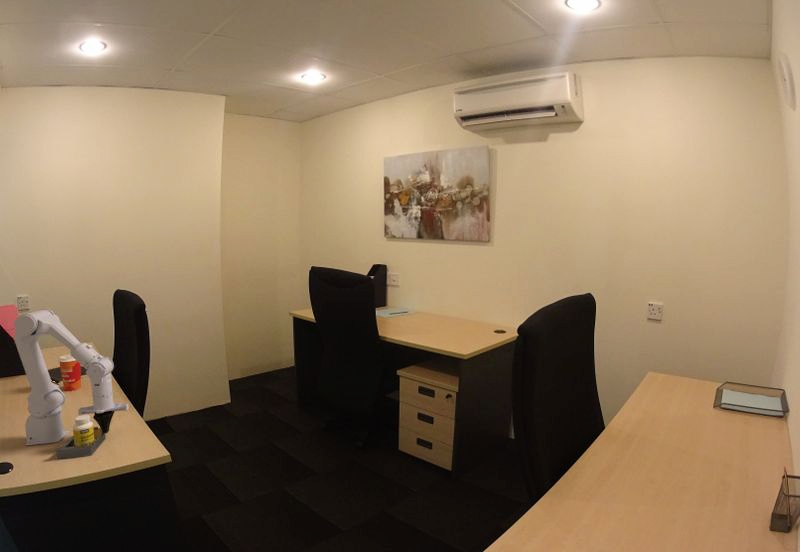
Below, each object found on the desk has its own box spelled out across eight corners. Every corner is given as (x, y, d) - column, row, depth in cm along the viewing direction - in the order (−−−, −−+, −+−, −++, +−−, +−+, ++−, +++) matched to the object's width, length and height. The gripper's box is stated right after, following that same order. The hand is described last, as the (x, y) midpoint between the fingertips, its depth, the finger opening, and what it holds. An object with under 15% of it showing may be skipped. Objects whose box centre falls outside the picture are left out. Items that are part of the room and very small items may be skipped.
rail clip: (56, 459, 138) (56, 450, 138) (77, 437, 152) (76, 429, 152) (91, 455, 141) (90, 446, 140) (109, 434, 154) (108, 426, 154)
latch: (87, 438, 152) (86, 429, 151) (88, 437, 153) (88, 427, 152) (102, 437, 153) (101, 427, 152) (103, 435, 154) (102, 426, 153)
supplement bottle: (81, 451, 143) (78, 422, 142) (70, 447, 146) (68, 419, 144) (98, 443, 148) (95, 415, 147) (88, 440, 150) (85, 412, 149)
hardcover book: (73, 367, 228) (73, 363, 228) (97, 375, 217) (96, 370, 216) (36, 377, 214) (35, 372, 214) (59, 385, 203) (58, 381, 203)
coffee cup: (56, 390, 195) (53, 357, 194) (76, 384, 203) (73, 352, 201) (69, 393, 192) (65, 359, 190) (88, 386, 200) (85, 354, 198)
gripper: (72, 400, 146) (76, 440, 148) (122, 396, 150) (125, 434, 151) (82, 392, 153) (85, 430, 154) (129, 388, 156) (132, 425, 158)
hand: (105, 432), depth 153 cm, fingers closed
